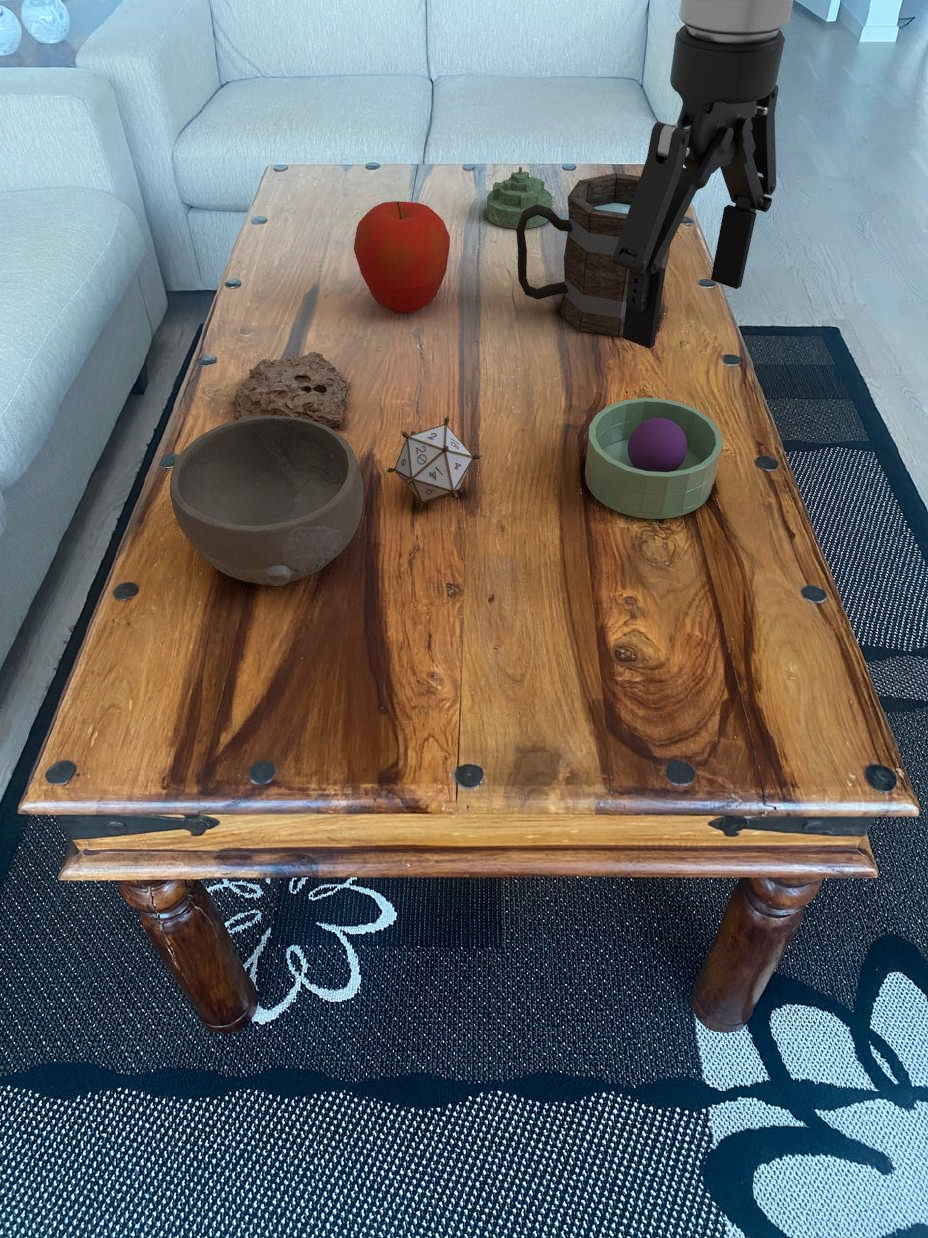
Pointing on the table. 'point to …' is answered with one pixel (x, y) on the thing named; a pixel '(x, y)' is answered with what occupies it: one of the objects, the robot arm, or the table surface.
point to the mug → (588, 253)
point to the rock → (294, 390)
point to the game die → (433, 463)
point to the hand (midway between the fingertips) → (683, 311)
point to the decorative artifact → (517, 200)
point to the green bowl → (646, 489)
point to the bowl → (268, 497)
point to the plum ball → (657, 446)
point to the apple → (402, 254)
